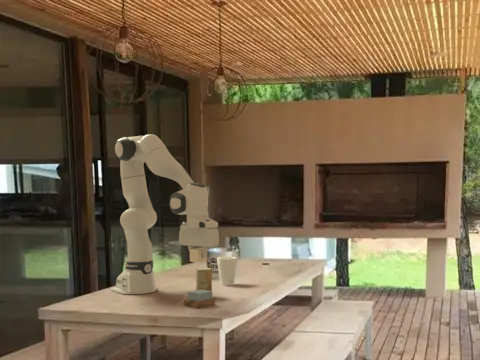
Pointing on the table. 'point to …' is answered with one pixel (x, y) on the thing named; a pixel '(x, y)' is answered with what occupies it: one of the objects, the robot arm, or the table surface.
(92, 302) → the table surface
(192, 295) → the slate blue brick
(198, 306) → the walnut base brick
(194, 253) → the cream brick
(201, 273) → the skincare box
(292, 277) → the table surface
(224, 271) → the foam cup
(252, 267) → the table surface
